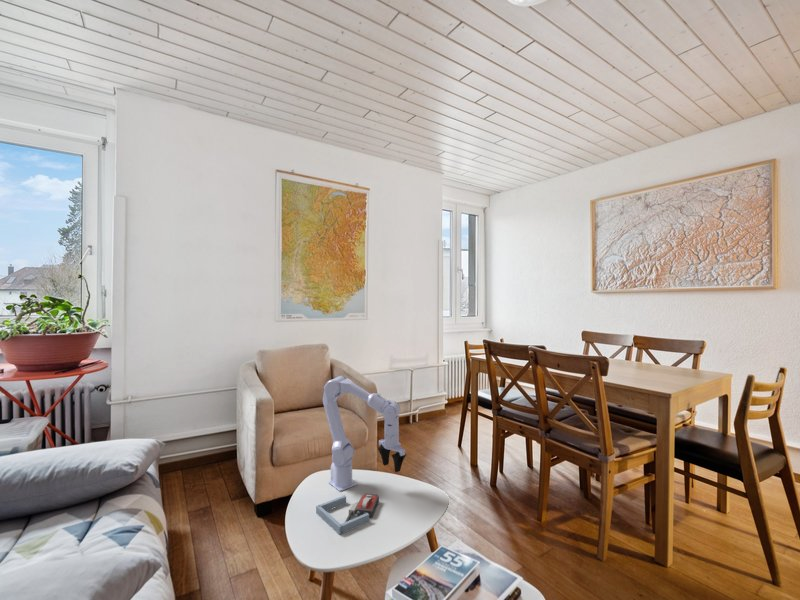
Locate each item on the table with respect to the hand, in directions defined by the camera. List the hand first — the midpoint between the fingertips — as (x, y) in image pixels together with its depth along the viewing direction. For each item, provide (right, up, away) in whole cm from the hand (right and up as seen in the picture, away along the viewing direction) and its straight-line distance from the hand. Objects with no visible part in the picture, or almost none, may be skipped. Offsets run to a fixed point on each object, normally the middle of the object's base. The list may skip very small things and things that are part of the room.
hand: (391, 468), depth 151 cm
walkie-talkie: (-10, -10, -15) cm, 21 cm away
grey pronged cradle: (-16, -9, -17) cm, 25 cm away
